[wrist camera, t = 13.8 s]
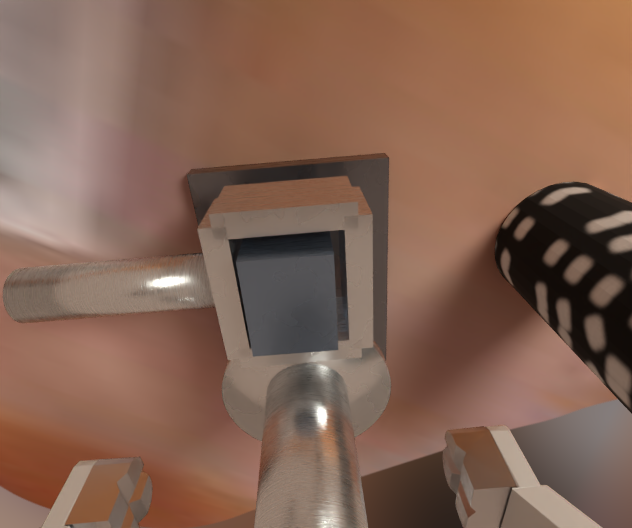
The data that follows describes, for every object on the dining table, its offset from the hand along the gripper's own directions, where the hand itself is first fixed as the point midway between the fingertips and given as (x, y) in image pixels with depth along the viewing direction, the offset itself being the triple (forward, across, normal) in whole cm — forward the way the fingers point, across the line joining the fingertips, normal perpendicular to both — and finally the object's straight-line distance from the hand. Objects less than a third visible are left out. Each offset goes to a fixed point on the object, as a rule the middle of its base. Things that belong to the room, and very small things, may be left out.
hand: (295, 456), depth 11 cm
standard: (+17, +4, +5) cm, 19 cm away
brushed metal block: (+16, 0, +1) cm, 16 cm away
